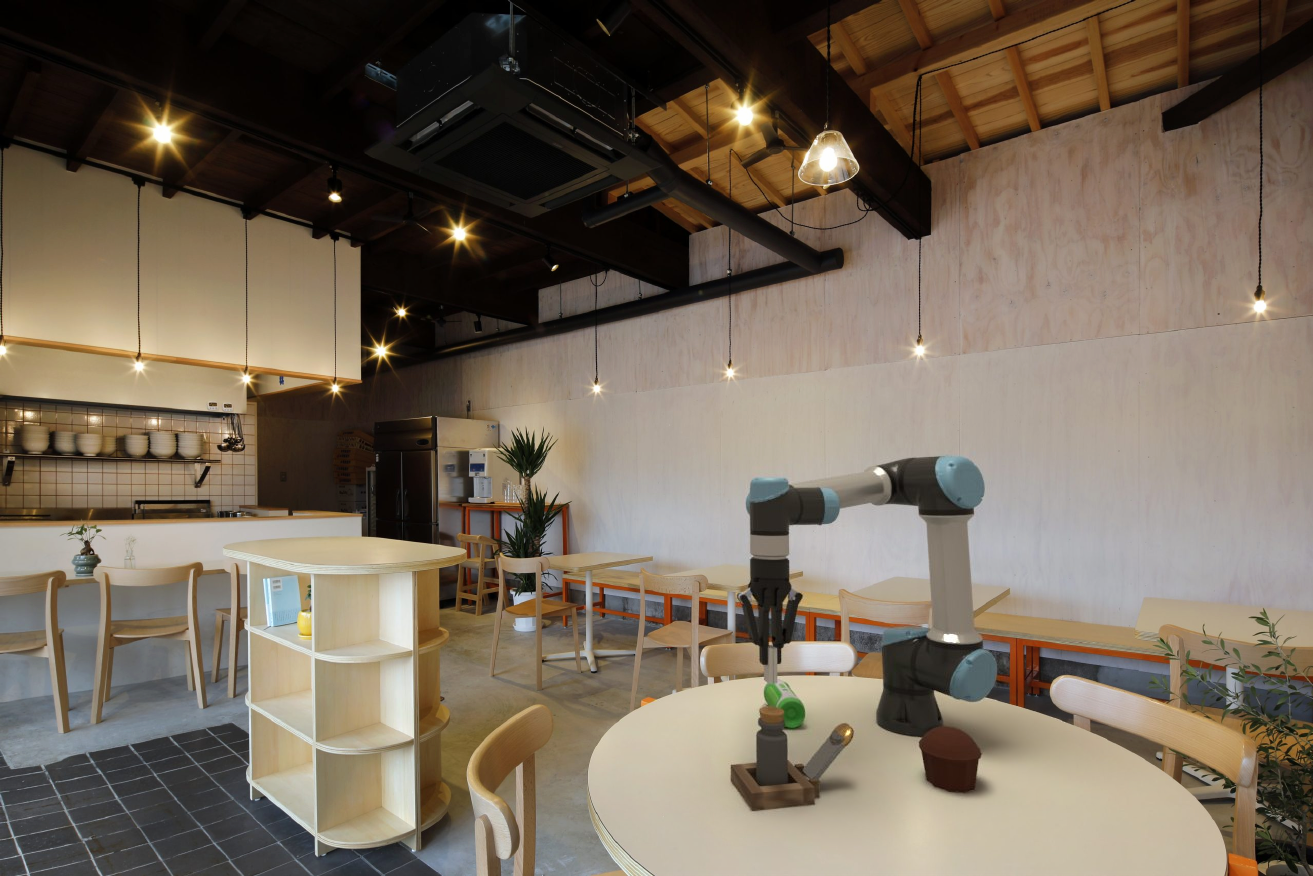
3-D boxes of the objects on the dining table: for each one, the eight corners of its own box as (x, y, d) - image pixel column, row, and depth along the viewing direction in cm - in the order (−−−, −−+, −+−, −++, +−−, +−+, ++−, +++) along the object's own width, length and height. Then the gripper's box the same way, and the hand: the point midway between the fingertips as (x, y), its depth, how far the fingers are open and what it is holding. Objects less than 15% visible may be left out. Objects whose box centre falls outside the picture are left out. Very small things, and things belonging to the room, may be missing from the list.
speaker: (807, 731, 152) (807, 698, 153) (777, 731, 152) (776, 698, 153) (789, 705, 170) (789, 676, 170) (762, 706, 170) (762, 676, 170)
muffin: (934, 764, 134) (932, 715, 134) (991, 782, 126) (989, 729, 127) (909, 783, 125) (908, 730, 126) (969, 803, 118) (967, 746, 118)
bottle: (787, 801, 118) (787, 716, 119) (755, 797, 119) (755, 714, 120) (787, 786, 124) (787, 706, 125) (757, 783, 125) (756, 704, 126)
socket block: (797, 774, 129) (797, 759, 129) (825, 803, 117) (824, 786, 117) (730, 780, 126) (730, 764, 126) (752, 811, 114) (752, 793, 114)
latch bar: (845, 723, 128) (841, 719, 128) (858, 732, 123) (854, 728, 123) (801, 777, 125) (797, 773, 125) (812, 788, 120) (808, 785, 120)
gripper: (792, 554, 130) (794, 674, 128) (730, 555, 127) (731, 678, 125) (809, 558, 122) (811, 685, 121) (744, 559, 120) (744, 689, 118)
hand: (770, 681), depth 123 cm, fingers closed
